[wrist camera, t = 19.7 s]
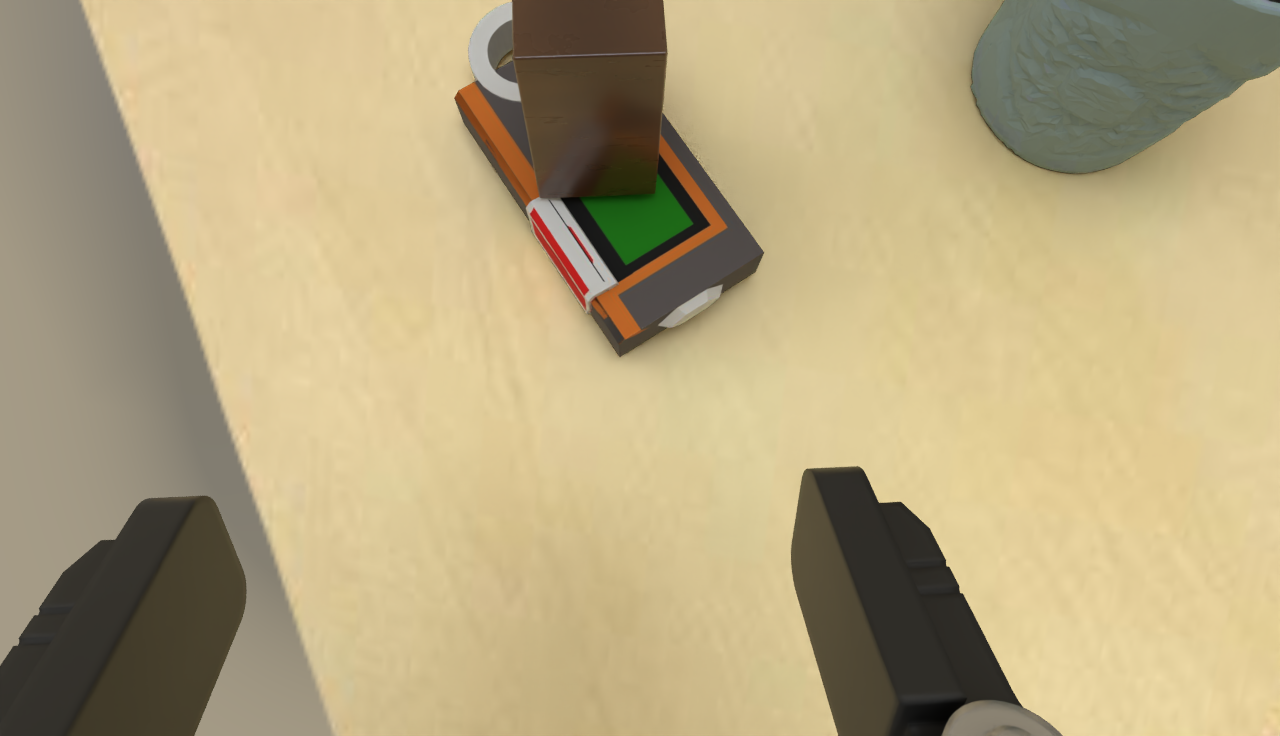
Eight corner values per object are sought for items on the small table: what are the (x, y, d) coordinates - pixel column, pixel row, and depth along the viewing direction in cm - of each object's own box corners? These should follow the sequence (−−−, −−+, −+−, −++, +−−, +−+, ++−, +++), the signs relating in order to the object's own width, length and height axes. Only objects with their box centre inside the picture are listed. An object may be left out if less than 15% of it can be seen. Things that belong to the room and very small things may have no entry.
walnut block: (539, 199, 30) (512, 59, 23) (537, 99, 32) (510, -66, 24) (655, 194, 30) (667, 53, 23) (648, 95, 32) (657, -70, 24)
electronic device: (560, -33, 33) (771, 256, 30) (566, 14, 36) (758, 282, 33) (417, 45, 32) (620, 351, 29) (434, 87, 35) (621, 369, 32)
